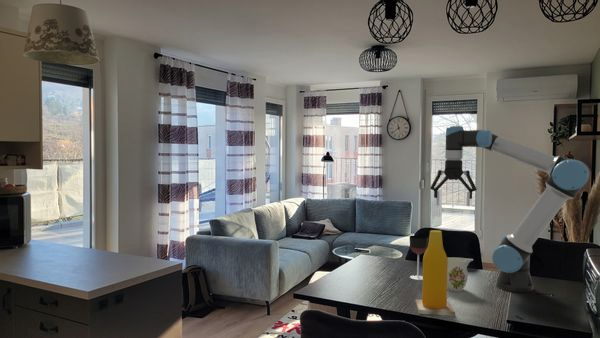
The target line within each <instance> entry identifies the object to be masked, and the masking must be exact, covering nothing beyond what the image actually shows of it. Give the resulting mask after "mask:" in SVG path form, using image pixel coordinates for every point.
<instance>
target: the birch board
mask: <svg viewBox="0 0 600 338" xmlns="http://www.w3.org/2000/svg"><path fill="white" fill-rule="evenodd" d="M415 306H416V309H417V311H418V314H421V315H434V316H449V317H456V311H455V310H454V307H453V306H452V304H451V303H450V301H449V300H447V306H446V307H445V308H443V309H432V308H428V307H425V306H424V305H423V303H422V299H418V298H417V299H415Z"/></svg>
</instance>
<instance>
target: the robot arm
mask: <svg viewBox="0 0 600 338" xmlns="http://www.w3.org/2000/svg"><path fill="white" fill-rule="evenodd" d="M464 147H465V148H468V147H469V148H483V149H486V150H488V151H491V152H493V153H495V154H499V155H501V156H503V157H506V158H508V159H511V160H514V161H516V162H519V163H522V164H524V165H527V166H529V167H531V168H534V169H537V170H539V171H542V172H545V173H546V174H547V175H548V178H547V179H546V181H545V182H544V183H545V186H546V188H545V189H544V190H543V192H542V193H541V194H540V196H539V197H538V198H537V200H536V201H535V203H534V204H533V205H532V207H531V209H529V211H528V212H527V214H526V215H525V216H524V218H523V219H522V220H521V222H520V223H519V224H518V226H517V227H516V228H515V230H514V232H512V233H509V234H506V236H502V237H501V242H500V244H499V245H498V246H497V247H496V248H495V249H494V250H493V252H492V256H491V257H492V259H491V260H492V263H493V264H494V266H495V267H496V268H497V269H498V270H499V273H498V276H497V279H496V284H495V285H496V287H498V288H499V289H502V290H505V291H509V292H516V293H531V292H533V291H534V283H533V280H532V277H531V273H530V261H531V260H530V259H531V254H532V253H533V252H534V251H533V245H534V244H535V243H536V241H537V240H538V238H539V237H540V236H541V235H542V234H543V232H544V231H545V230H546V228H547V227H548V226H549V224H550V223H551V221H552V220H553V219H554V217H555V216H556V215H557V214H558V213H559V211H560V210H561V208H562V207H563V206H564V205H565V204H566V202H567V201H568V200H572V199H575V197H576V196H577V195H578V194H579V193H580V191H581V189H582V188H583V187H584V186H585V185H586V184H587V183H588V182H589V180H590V178H591V170H590V168H589V166H588V165H587V164H586V163H585V162H584V161H581V160H579V159H574V158H573V159H572V158H567V157H564V156H561V155H557V156H554V155H552V154H549V153H546V152H543V151H540V150H538V149H535V148H532V147H530V146H528V145H527V146H526V145H524V144H521V143H518V142H515V141H513V140H511V139H507V138H505V137H502V136H500V135H499V136H498V135H497V134H493V133H492V132H491V130H489V129H475V130H466V129H465V130H464V126H462V125H449V126H447V127H446V128H445V155H444V156H445V159H446V160H445V161H444V170H441V169H438V170H437V172H436V173H437V174H436V177H435V178H434V179H433V181H432V183H431V185H430V187H429V188H430V190H433V197H434V198H435V205H436V206H440V191H439V189H441V187H442V186H443V185H444V184H445V183H446V182H447V181H448V180H449V181H453V180H454V181H457V180H459V181H460V183H461V184H462V185H463V186H464V187H465V188H466V190H468V191H466V204H465V205H466V206H467V207H470V201H471V200H472V199H473V192H476V191H477V187H476V185H475V183H474V181H473V179H472V176H471V175H470V173H471V172H470V170H463V157H464V156H463V150H464V149H463V148H464ZM443 174H444V175H445V176H444V178H443V179H442V180H441V181H440V182H439V183H438V181H439V179H440V178H441V176H442V175H443ZM463 175H464V176H465V177H466V179H467V181H468V183H469V184H468V183H467V182H466V181H465V180H464V178H463V177H462V176H463ZM437 183H438V184H437ZM469 185H470V186H469Z"/></svg>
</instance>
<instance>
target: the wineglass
mask: <svg viewBox="0 0 600 338" xmlns="http://www.w3.org/2000/svg"><path fill="white" fill-rule="evenodd" d="M428 243H429V236H425V235H409V246H410V250H411V252H412V253H414V254H415V255H417V260H416V261H417V262H416V263H417V265H416V266H417V267H416V275H415V276H414V275H410V276H409V278H410V279H412V280H417V281H423V275H419V272H420V255H422V254H425V251H426V249H427V247H428Z"/></svg>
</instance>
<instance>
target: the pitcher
mask: <svg viewBox="0 0 600 338" xmlns="http://www.w3.org/2000/svg"><path fill="white" fill-rule="evenodd" d="M447 260H448V267H447V291H451V292H462V291H463V290H464V288H465V287H466V285H467V281H468V276H469V273H468V268H467V267H468V266H469V264H470V263H471V262H473V261H474V259H473V258H465V257H455V256H454V257H448V256H447Z"/></svg>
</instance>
